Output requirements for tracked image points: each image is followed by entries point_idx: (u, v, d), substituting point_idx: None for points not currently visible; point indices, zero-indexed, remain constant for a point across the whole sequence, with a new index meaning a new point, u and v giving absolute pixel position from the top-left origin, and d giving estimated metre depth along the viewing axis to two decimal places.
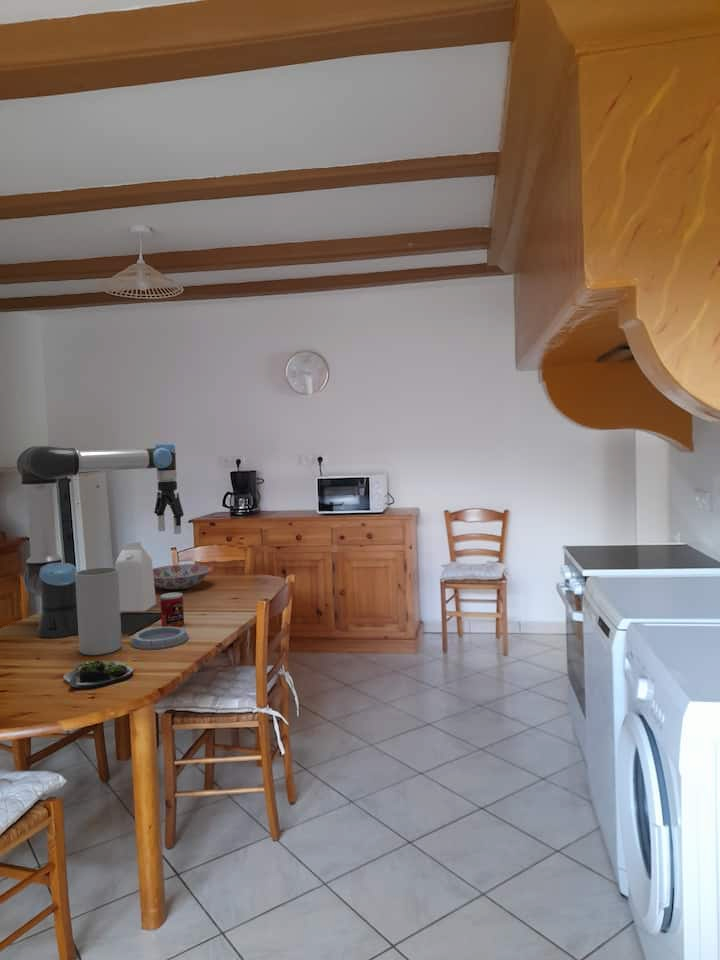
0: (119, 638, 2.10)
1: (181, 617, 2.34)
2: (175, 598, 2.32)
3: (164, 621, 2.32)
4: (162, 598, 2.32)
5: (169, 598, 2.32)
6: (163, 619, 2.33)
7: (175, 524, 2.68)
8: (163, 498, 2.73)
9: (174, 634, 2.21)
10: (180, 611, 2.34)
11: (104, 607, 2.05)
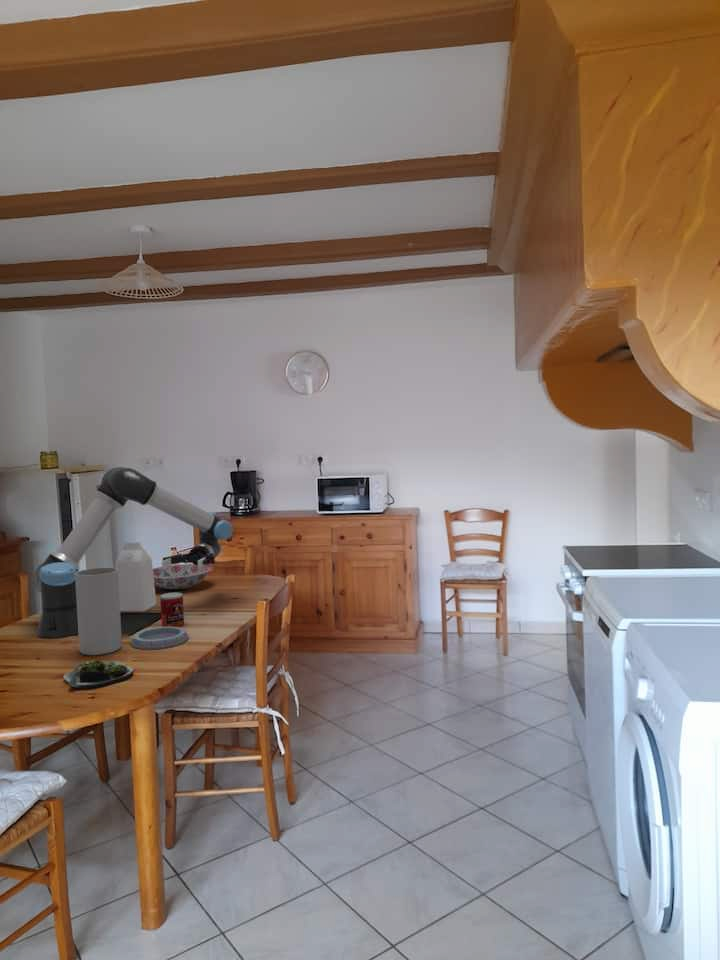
0: (119, 638, 2.10)
1: (181, 617, 2.34)
2: (175, 598, 2.32)
3: (164, 621, 2.32)
4: (162, 598, 2.32)
5: (169, 598, 2.32)
6: (163, 619, 2.33)
7: (203, 559, 2.48)
8: (191, 554, 2.59)
9: (174, 634, 2.21)
10: (180, 611, 2.34)
11: (104, 607, 2.05)
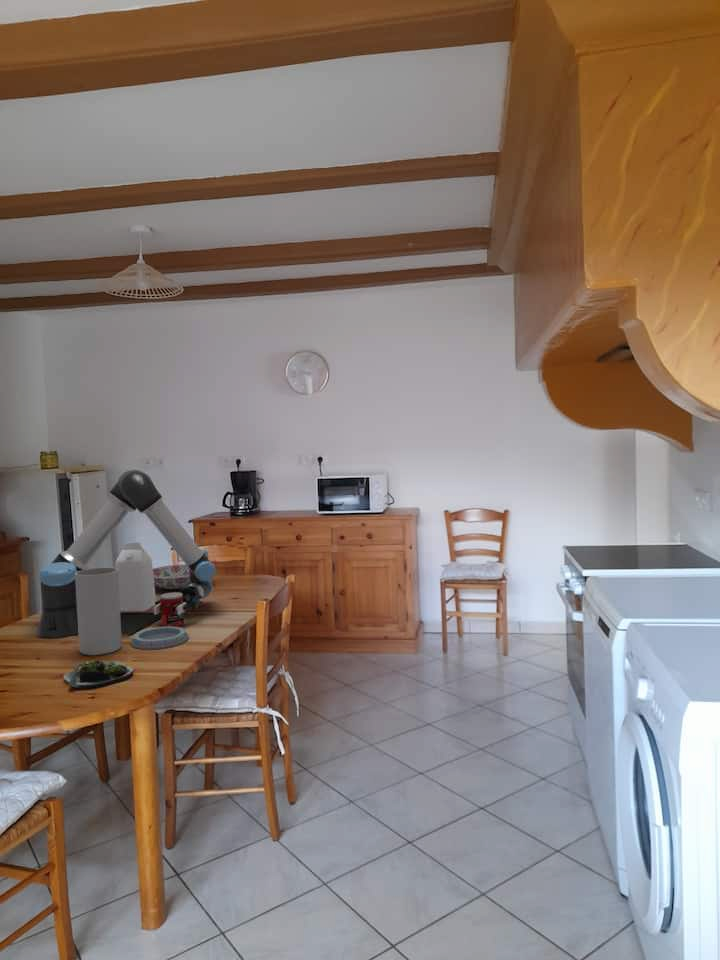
0: (119, 638, 2.10)
1: (181, 617, 2.34)
2: (175, 598, 2.32)
3: (164, 621, 2.32)
4: (162, 598, 2.32)
5: (169, 598, 2.32)
6: (163, 619, 2.33)
7: (183, 605, 2.34)
8: None
9: (174, 634, 2.21)
10: None
11: (104, 607, 2.05)
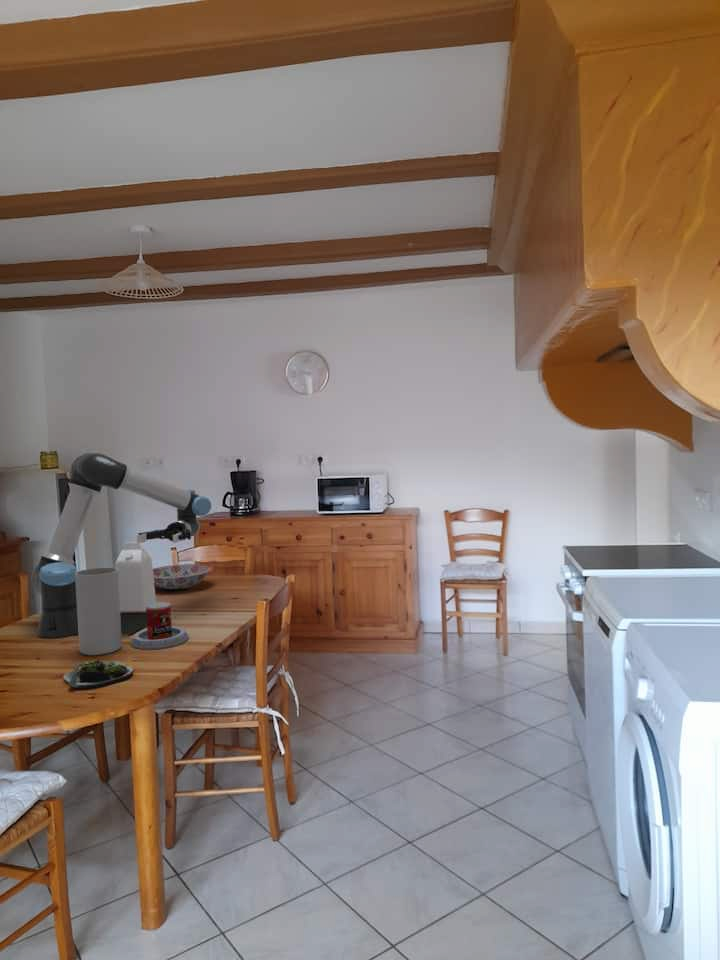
0: (119, 638, 2.10)
1: (169, 629, 2.16)
2: (162, 608, 2.14)
3: (150, 633, 2.14)
4: (148, 608, 2.14)
5: (155, 608, 2.13)
6: (149, 631, 2.14)
7: (178, 534, 2.43)
8: (168, 530, 2.54)
9: (174, 634, 2.21)
10: (167, 623, 2.15)
11: (104, 607, 2.05)
